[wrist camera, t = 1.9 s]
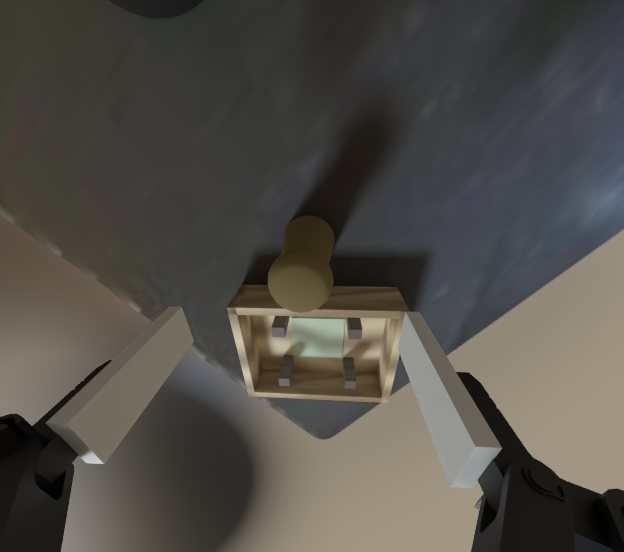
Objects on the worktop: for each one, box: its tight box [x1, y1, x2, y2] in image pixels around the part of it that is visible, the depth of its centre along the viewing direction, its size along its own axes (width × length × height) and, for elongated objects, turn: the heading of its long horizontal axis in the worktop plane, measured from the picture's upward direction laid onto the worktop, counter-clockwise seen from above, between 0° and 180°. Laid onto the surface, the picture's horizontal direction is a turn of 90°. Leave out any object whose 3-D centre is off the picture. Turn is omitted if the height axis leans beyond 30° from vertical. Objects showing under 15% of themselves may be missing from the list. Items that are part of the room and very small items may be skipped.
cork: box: [268, 215, 335, 313], centre depth 21 cm, size 6×6×11 cm
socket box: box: [227, 285, 410, 403], centre depth 30 cm, size 16×20×5 cm
